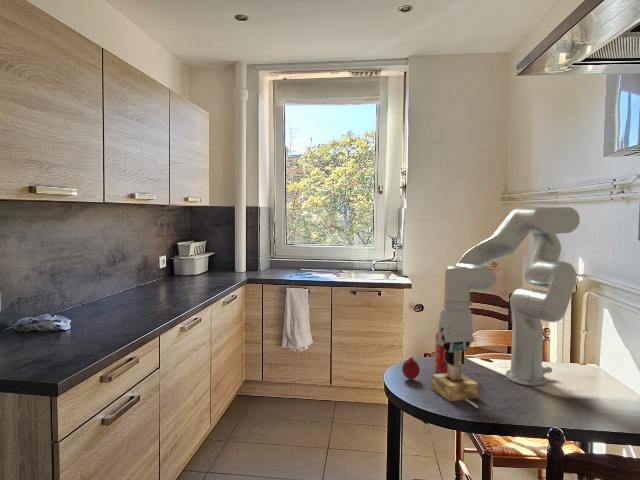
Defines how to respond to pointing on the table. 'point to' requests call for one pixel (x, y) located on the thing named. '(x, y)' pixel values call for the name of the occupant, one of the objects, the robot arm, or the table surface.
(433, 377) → the wooden block
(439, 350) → the soda can
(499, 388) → the table surface
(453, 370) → the green capped spice bottle
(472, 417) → the table surface
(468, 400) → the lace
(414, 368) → the onion
